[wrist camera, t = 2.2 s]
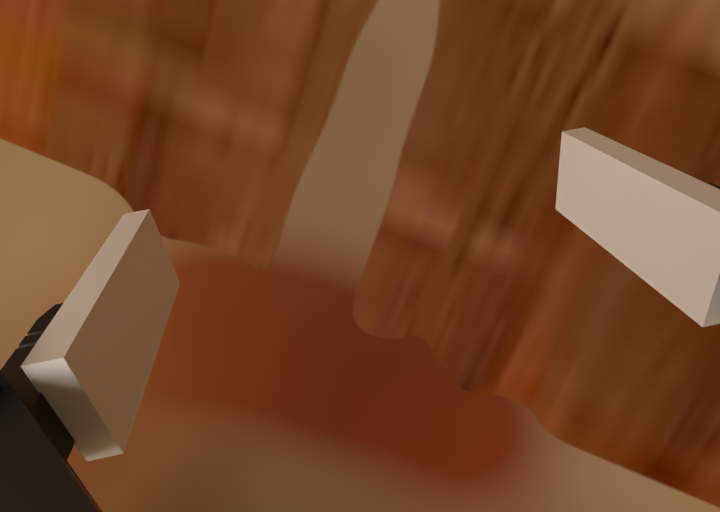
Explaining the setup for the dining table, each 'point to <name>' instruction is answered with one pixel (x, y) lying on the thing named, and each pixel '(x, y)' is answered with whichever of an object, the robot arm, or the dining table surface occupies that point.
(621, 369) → the dining table surface
